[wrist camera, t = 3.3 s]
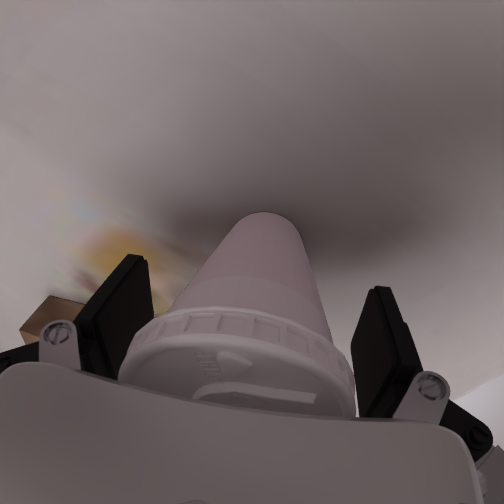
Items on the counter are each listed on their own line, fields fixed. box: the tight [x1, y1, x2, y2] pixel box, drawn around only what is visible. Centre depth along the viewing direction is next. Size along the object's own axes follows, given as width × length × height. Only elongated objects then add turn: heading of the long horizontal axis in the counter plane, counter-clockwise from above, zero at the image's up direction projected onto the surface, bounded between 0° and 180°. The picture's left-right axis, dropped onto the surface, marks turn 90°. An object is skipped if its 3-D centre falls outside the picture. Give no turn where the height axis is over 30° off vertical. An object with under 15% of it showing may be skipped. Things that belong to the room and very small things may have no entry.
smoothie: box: [118, 212, 356, 417], centre depth 10 cm, size 6×6×14 cm
